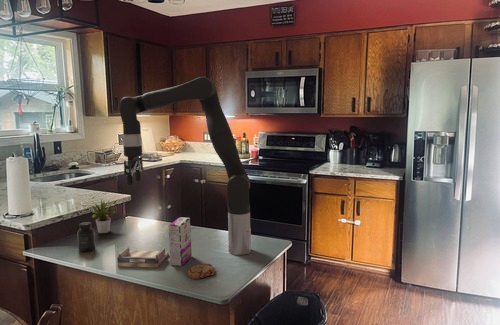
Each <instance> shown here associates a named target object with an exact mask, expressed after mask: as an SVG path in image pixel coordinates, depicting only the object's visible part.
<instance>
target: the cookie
mask: <svg viewBox="0 0 500 325" xmlns="http://www.w3.org/2000/svg"><path fill="white" fill-rule="evenodd" d="M214 274H216V269H215V267H213V266H212V264H210V263H199V264H195V265H193V266H191V268H189V269H188V271H187V276H188V278H189V279H190V280H192V279H193V280H199V279H204V278H206V277H212V276H214Z"/></svg>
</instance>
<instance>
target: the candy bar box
mask: <svg viewBox="0 0 500 325" xmlns="http://www.w3.org/2000/svg"><path fill="white" fill-rule="evenodd" d="M191 234H192V231H191V218H190V217H185V216H184V217H182V216H181V217H178V218H176V219H175V220H173V222H171V223H170V224H168V235H169V236H168V237H169V252H170V256H169V258H170V266H174V267H182V266H184V264H185V263H186V262H187V261H188V260H189V259H190V258H191V257H192V256H193V255H192V237H191Z"/></svg>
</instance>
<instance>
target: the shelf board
mask: <svg viewBox="0 0 500 325" xmlns="http://www.w3.org/2000/svg"><path fill="white" fill-rule="evenodd" d="M168 256H169V251H168V250H167V251H166V248H165V247H162V248H161V249H160V250H138V249H137V250H131V249H130V246H126V247H125V248H124V249H123V250H121V251H120V252H119V253H118V254H117V257H116V258H117V259H116V260H117V267H133V268H137V267H138V268H160V265H161V264H162V263H163V262H164V261H165V260H166V258H168Z"/></svg>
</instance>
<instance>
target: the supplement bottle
mask: <svg viewBox="0 0 500 325" xmlns="http://www.w3.org/2000/svg"><path fill="white" fill-rule="evenodd" d="M78 228H79V229H78V231H77V248H78V252H79V253H90V252H94V251H95V250H96V239H95V238H96V236H95V235H96V234H95V229H94V228H93V227H92V222H91V221H84V222H81V223H79V225H78Z"/></svg>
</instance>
